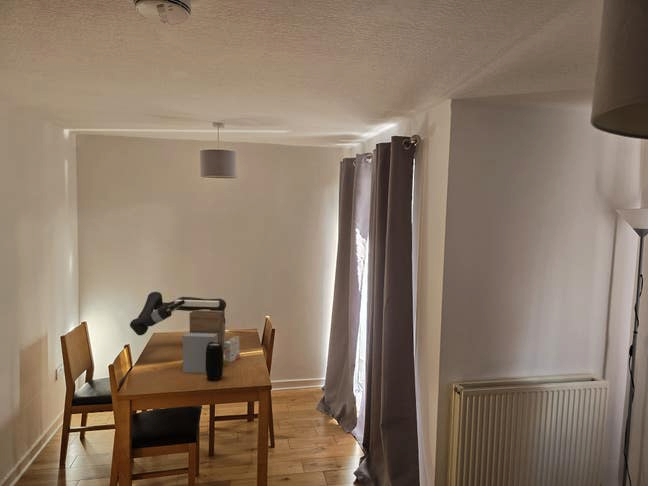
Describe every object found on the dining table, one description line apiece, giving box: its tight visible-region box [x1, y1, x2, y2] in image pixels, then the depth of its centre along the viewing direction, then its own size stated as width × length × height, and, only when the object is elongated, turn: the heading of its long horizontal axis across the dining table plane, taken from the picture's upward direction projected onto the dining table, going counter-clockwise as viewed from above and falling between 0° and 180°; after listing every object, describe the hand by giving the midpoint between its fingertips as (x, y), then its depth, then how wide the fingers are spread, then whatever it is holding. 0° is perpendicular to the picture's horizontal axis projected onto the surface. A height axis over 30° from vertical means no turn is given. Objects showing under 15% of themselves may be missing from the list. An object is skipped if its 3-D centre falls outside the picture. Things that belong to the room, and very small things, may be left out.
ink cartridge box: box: [224, 335, 240, 363], centre depth 267 cm, size 9×5×15 cm, turn 148°
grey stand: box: [182, 332, 218, 374], centre depth 247 cm, size 7×18×21 cm, turn 85°
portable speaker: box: [205, 342, 224, 382], centre depth 235 cm, size 9×9×20 cm
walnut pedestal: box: [189, 310, 225, 364], centre depth 257 cm, size 8×18×32 cm, turn 85°
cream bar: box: [174, 299, 219, 307], centre depth 254 cm, size 4×26×3 cm, turn 85°
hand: (185, 300), depth 255 cm, fingers closed on cream bar, 3 cm apart
